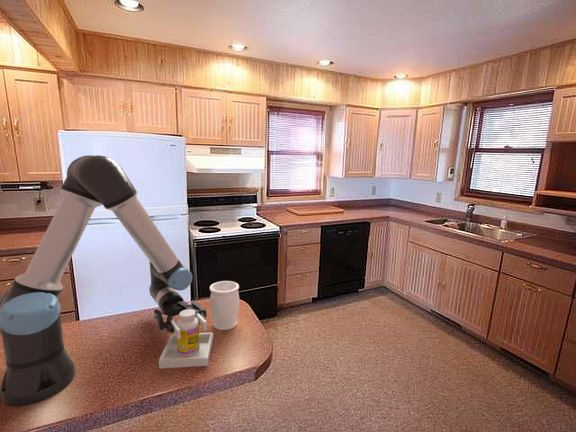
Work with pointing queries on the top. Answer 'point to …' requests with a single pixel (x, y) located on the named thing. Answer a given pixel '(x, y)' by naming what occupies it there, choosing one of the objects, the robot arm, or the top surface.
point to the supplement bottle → (188, 333)
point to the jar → (224, 304)
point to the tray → (201, 358)
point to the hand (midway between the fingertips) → (192, 330)
